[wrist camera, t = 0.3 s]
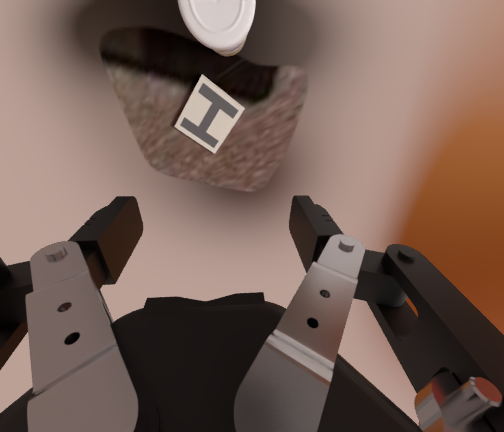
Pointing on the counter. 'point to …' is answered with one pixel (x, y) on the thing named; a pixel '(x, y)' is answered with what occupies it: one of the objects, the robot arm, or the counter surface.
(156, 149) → the counter surface
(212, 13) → the sprinkles bottle
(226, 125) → the letter card
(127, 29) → the counter surface
